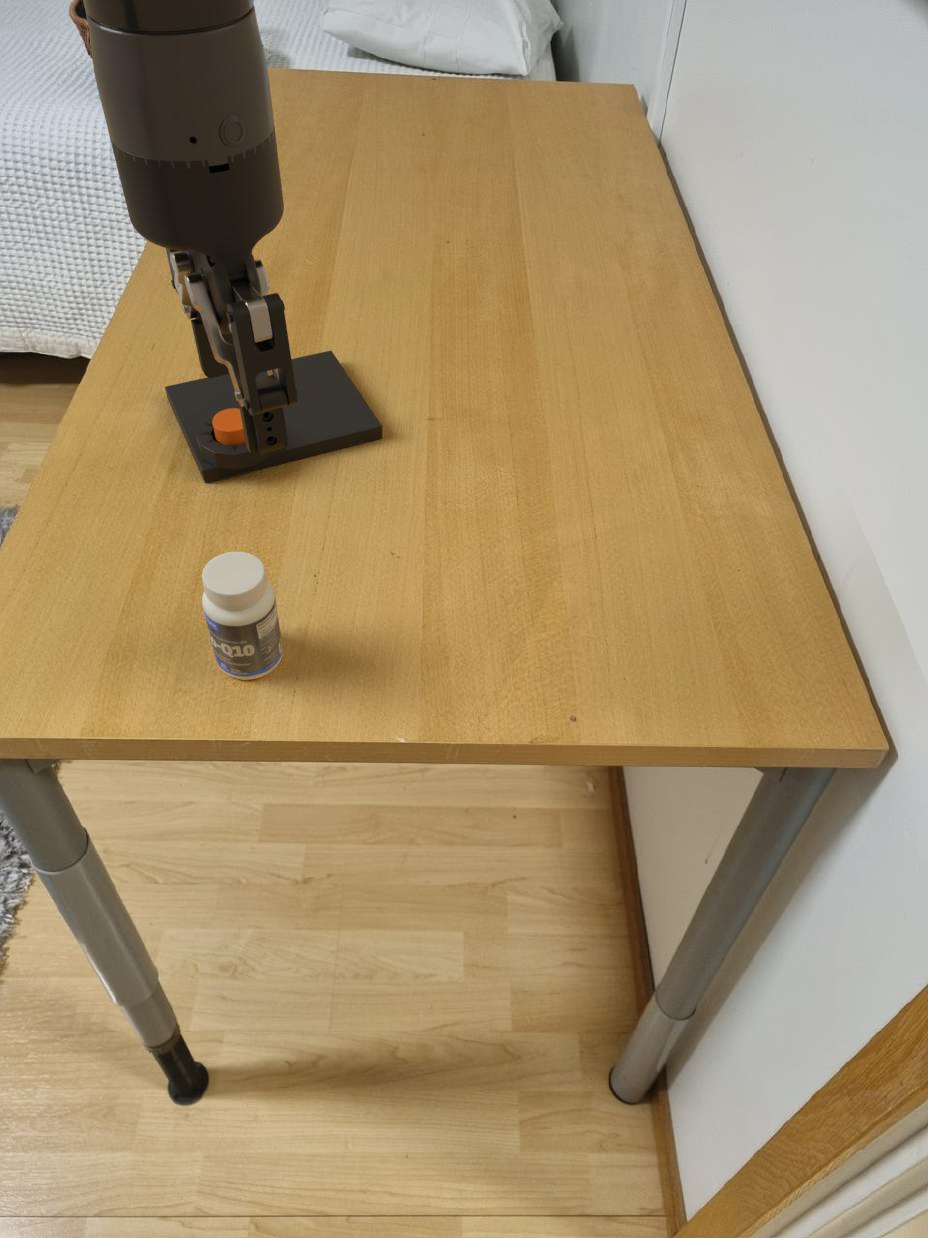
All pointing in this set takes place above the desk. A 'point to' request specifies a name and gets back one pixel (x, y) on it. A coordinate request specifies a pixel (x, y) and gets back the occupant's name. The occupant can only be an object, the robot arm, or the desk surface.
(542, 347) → the desk surface
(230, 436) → the button
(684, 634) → the desk surface
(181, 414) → the black flat block
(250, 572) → the pill bottle
